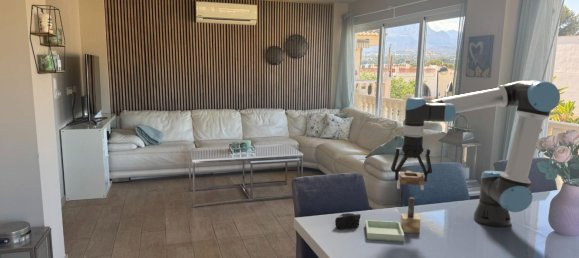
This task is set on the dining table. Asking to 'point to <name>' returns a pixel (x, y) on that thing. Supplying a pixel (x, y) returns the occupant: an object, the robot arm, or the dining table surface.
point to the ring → (411, 178)
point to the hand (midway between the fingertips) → (410, 188)
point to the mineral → (347, 220)
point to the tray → (384, 231)
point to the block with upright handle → (410, 219)
